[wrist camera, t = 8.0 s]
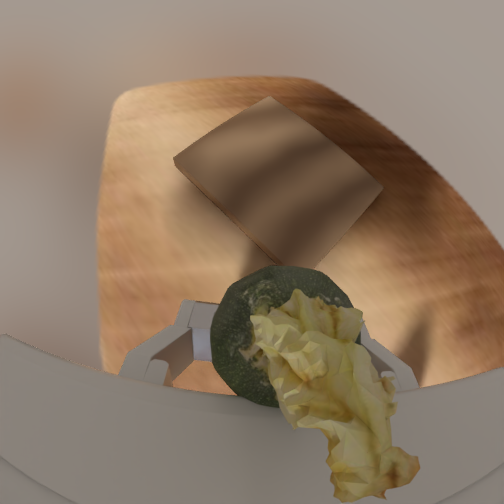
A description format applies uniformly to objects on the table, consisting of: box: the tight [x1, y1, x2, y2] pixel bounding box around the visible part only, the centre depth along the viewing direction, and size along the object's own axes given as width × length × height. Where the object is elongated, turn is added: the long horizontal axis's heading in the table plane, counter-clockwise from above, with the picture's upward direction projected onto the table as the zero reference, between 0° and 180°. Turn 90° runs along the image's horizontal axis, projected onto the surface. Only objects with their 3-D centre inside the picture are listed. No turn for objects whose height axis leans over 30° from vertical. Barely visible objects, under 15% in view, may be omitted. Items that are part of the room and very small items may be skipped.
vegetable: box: [210, 266, 420, 503], centre depth 11 cm, size 4×4×20 cm
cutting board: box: [173, 96, 384, 269], centre depth 26 cm, size 17×14×2 cm
